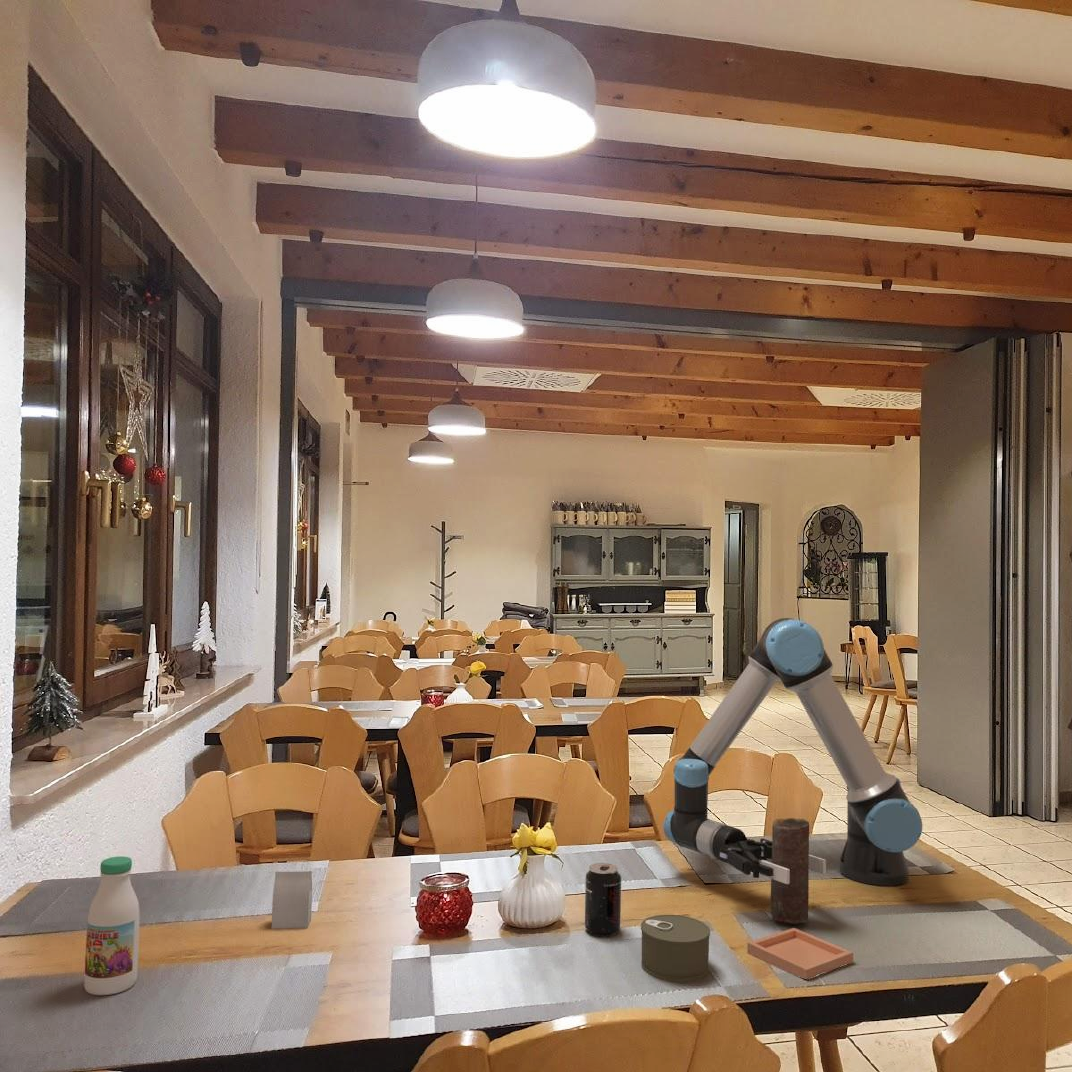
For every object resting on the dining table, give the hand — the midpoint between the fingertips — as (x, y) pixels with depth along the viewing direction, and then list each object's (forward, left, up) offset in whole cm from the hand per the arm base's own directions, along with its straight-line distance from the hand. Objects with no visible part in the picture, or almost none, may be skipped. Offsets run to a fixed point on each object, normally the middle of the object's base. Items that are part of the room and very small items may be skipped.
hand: (806, 871), depth 171 cm
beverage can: (+35, -20, -11) cm, 42 cm away
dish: (+12, +8, -11) cm, 18 cm away
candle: (0, -4, -11) cm, 12 cm away
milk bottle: (+117, -45, -11) cm, 126 cm away
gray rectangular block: (+84, -54, -11) cm, 101 cm away
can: (+34, -1, -11) cm, 36 cm away
